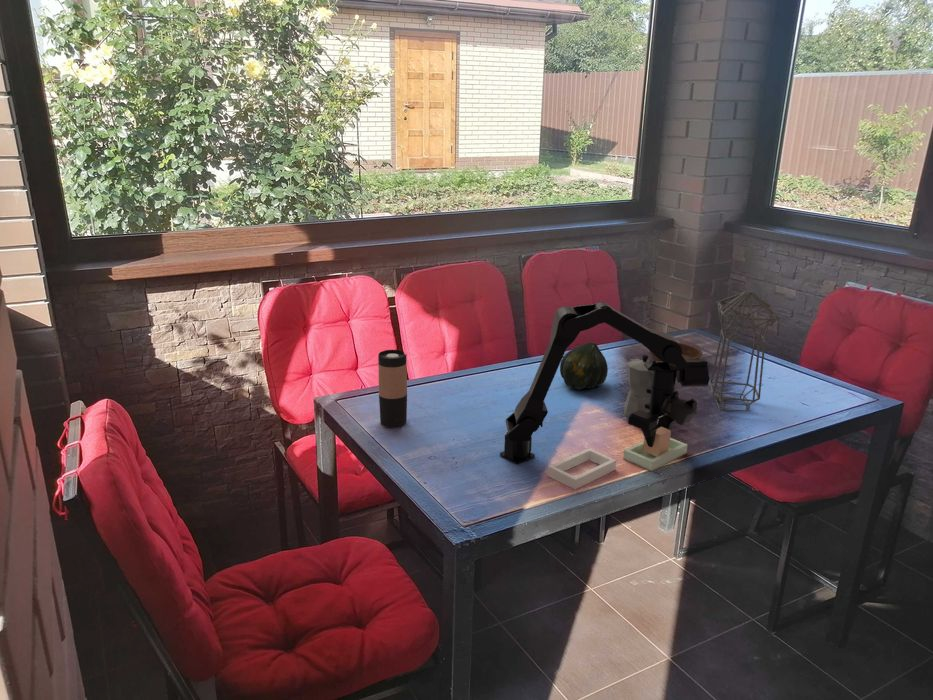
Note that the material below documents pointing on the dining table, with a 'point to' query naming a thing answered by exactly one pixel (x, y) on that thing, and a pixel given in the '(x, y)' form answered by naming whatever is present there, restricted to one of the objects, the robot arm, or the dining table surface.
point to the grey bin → (575, 482)
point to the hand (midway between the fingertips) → (656, 443)
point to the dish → (685, 353)
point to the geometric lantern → (771, 316)
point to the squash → (584, 367)
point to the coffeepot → (638, 386)
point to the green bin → (651, 461)
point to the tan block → (659, 442)
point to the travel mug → (392, 388)
